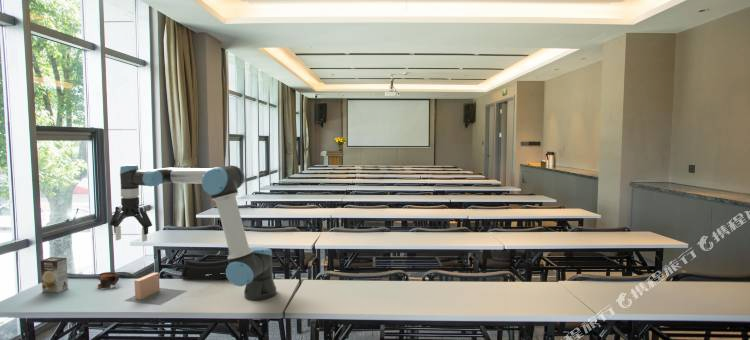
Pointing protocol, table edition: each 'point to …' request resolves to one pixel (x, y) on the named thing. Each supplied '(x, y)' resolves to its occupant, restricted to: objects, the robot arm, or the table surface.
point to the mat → (158, 296)
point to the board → (146, 285)
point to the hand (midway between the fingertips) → (131, 240)
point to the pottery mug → (107, 279)
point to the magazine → (204, 269)
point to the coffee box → (54, 274)
